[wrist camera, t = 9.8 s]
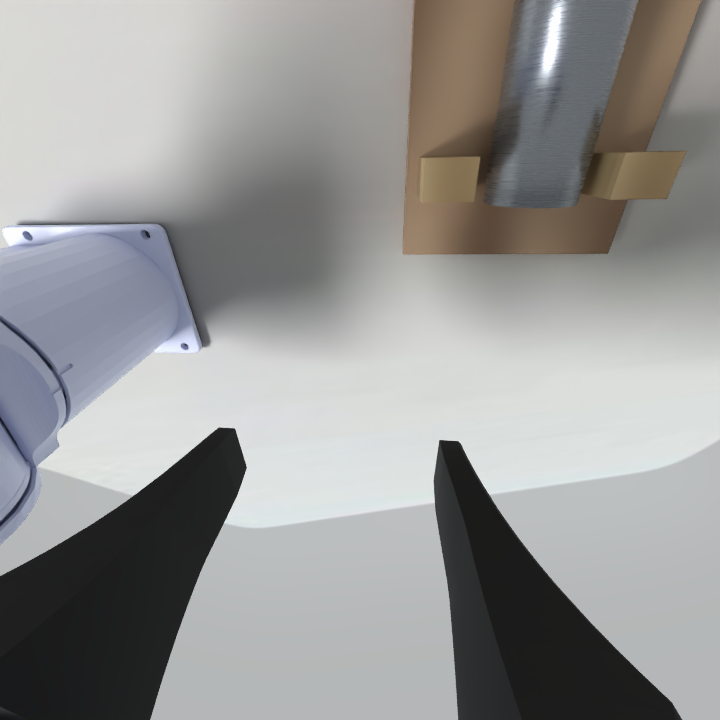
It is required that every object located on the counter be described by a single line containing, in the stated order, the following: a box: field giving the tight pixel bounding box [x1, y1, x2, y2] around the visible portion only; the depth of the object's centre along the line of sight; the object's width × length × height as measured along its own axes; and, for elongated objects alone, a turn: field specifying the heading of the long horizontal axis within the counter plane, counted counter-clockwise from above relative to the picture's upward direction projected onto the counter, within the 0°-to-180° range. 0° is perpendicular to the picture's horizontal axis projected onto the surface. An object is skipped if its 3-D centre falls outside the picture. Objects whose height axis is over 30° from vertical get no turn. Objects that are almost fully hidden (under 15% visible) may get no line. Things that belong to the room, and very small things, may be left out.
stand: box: [403, 0, 701, 254], centre depth 11 cm, size 10×17×4 cm, turn 1°
